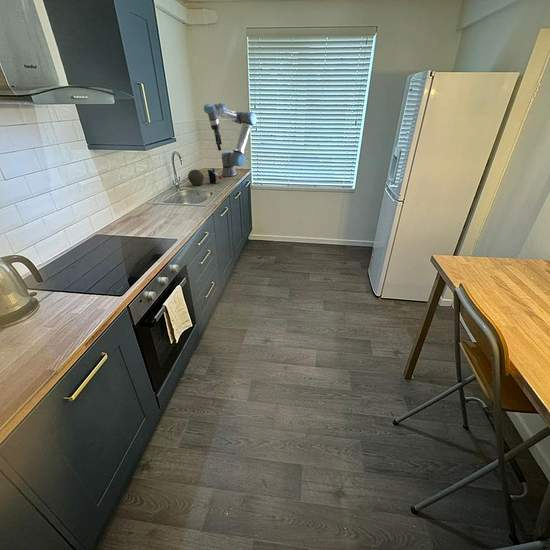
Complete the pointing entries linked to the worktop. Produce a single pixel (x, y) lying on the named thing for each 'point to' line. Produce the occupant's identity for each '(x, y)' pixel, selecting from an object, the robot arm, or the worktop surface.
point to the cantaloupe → (195, 177)
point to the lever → (217, 175)
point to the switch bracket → (212, 177)
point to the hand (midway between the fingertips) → (220, 147)
